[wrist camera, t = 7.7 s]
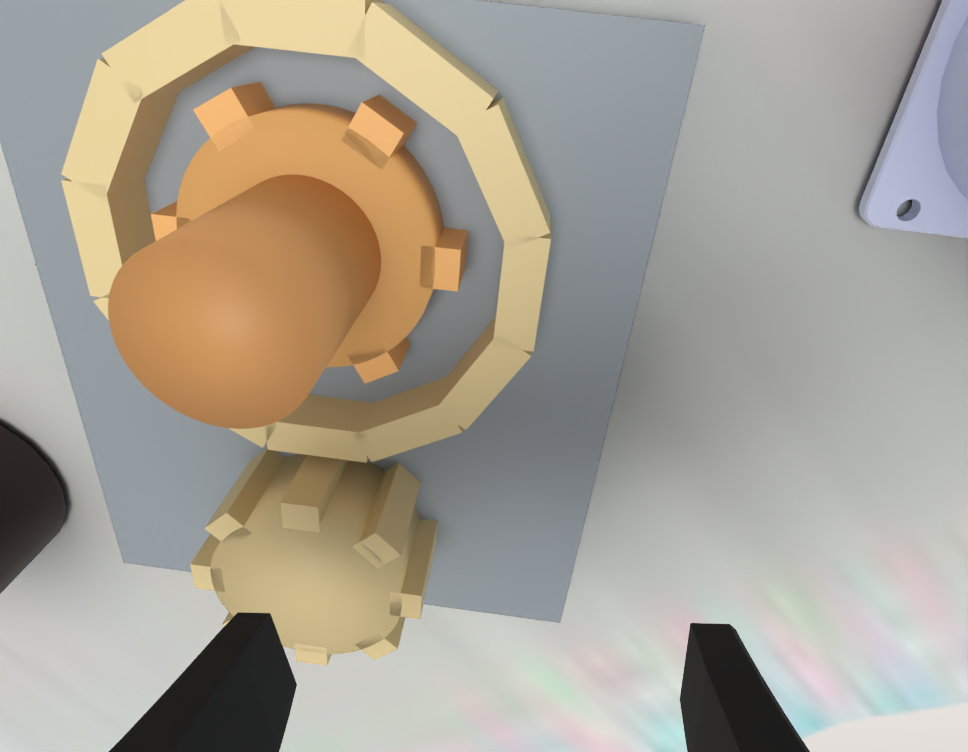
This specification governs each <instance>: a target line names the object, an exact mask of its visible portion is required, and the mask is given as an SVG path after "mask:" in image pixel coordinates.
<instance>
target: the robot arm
mask: <svg viewBox="0 0 968 752" xmlns="http://www.w3.org/2000/svg"><path fill="white" fill-rule="evenodd" d="M907 200H912V207H911V209H910V210H909V211H908V213H906V214H905V215H903V216H899V217H897V209H898V208H899V206H900V205H901V204H902V203H903V202H905V201H907ZM859 213H860V217H861V218H862V219H863V220H864V221H865V222H866V223H868V224H869V225H871V226H874V227H877V228H884V229H893V230H901V231H910V232H918V233H926V234H935V235H943V236H952V237H960V238H968V0H942V2H941V5H940V7H939V10H938V12H937V15H936V17H935V20H934V22H933V24H932V27H931V29H930V32H929V34H928V37H927V39H926V42H925V44H924V47H923V49H922V51H921V54H920V56H919V59H918V61H917V64H916V66H915V69H914V71H913V74H912V76H911V78H910V81H909V83H908V86H907V88H906V91H905V93H904V96H903V98H902V101H901V103H900V105H899V108H898V110H897V113H896V115H895V118H894V120H893V123H892V125H891V128H890V130H889V132H888V135H887V137H886V140H885V142H884V145H883V147H882V150H881V152H880V155H879V157H878V159H877V162H876V164H875V167H874V169H873V172H872V174H871V177H870V179H869V182H868V184H867V186H866V189H865V191H864V194H863V196H862V199H861V201H860V206H859ZM296 686H297V684H296V681H295V679H294V676H293V673H292V670H291V668H290V665H289V662H288V660H287V657H286V654H285V652H284V649H283V646H282V643H281V641H280V638H279V635H278V633H277V630H276V627H275V625H274V622H273V619H272V616H271V614H270V613H243V612H238V613H237V614H236V615H235V616H234V617H233V618H232V619H231V620H230V621H229V622H228V623H227V624H226V625H225V626H224V628H223V629H222V630H221V631H220V632H219V633H218V634H217V635H216V636H215V638H214V639H213V640H212V641H211V642H210V643H209V644H208V645H207V646H206V648H205V649H204V650H203V651H202V652H201V653H200V654H199V655H198V656H197V658H196V659H195V660H194V661H193V662H192V663H191V664H190V665H189V667H188V668H187V669H186V670H185V671H184V672H183V673H182V674H181V675H180V676H179V678H178V679H177V680H176V681H175V682H174V683H173V684H172V685H171V686H170V688H169V689H168V690H167V691H166V692H165V693H164V694H163V695H162V696H161V697H160V698H159V699H158V700H157V702H156V703H155V704H154V705H153V706H152V707H151V708H150V709H149V710H148V711H147V712H146V713H145V714H144V715H143V717H142V718H141V719H140V720H139V721H138V722H137V723H136V724H135V725H134V726H133V727H132V728H131V729H130V730H129V732H128V733H127V734H126V735H125V736H124V737H123V738H122V739H121V740H120V741H119V742H118V743H117V744H116V745H115V746H114V747H113V748H112V749H111V750H110V751H109V752H279V749H280V746H281V743H282V739H283V736H284V732H285V728H286V725H287V721H288V717H289V714H290V710H291V706H292V702H293V698H294V694H295V690H296ZM680 703H681V710H682V717H683V724H684V731H685V738H686V744H687V750H688V752H810V751H809V750H808V748H807V747H806V745H805V744H804V742H803V741H802V739H801V738H800V736H799V735H798V733H797V732H796V730H795V729H794V727H793V726H792V724H791V722H790V721H789V719H788V718H787V716H786V715H785V713H784V711H783V710H782V708H781V707H780V705H779V703H778V702H777V700H776V699H775V697H774V695H773V694H772V692H771V691H770V689H769V687H768V686H767V684H766V682H765V681H764V679H763V677H762V676H761V674H760V672H759V671H758V669H757V667H756V665H755V664H754V662H753V660H752V658H751V657H750V655H749V653H748V651H747V650H746V648H745V646H744V644H743V642H742V641H741V639H740V637H739V635H738V633H737V631H736V629H734V628H733V627H732V626H731V625H730V624H700V623H691V624H690V631H689V638H688V646H687V653H686V660H685V667H684V674H683V681H682V688H681V696H680Z"/></svg>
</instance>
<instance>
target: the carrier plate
mask: <svg viewBox="0 0 968 752" xmlns="http://www.w3.org/2000/svg"><path fill="white" fill-rule="evenodd" d="M704 28H705V25H699V24H690V23H681V22H672V21H663V20H654V19H644V18H635V17H626V16H617V15H608V14H599V13H590V12H581V11H572V10H563V9H553V8H544V7H535V6H526V5H517V4H508V3H499V2H490V1H481V0H0V143H1V146H2V150H3V153H4V156H5V160H6V163H7V167H8V170H9V173H10V177H11V180H12V184H13V187H14V190H15V194H16V197H17V201H18V204H19V207H20V211H21V214H22V218H23V221H24V225H25V228H26V231H27V235H28V238H29V242H30V245H31V248H32V252H33V255H34V259H35V262H36V265H37V269H38V272H39V276H40V279H41V283H42V286H43V289H44V293H45V296H46V300H47V303H48V306H49V310H50V313H51V317H52V320H53V323H54V327H55V330H56V334H57V337H58V340H59V344H60V347H61V351H62V354H63V358H64V361H65V364H66V368H67V371H68V375H69V378H70V381H71V385H72V388H73V392H74V395H75V398H76V402H77V405H78V409H79V412H80V416H81V419H82V422H83V426H84V429H85V433H86V436H87V439H88V443H89V446H90V450H91V453H92V456H93V460H94V463H95V467H96V470H97V473H98V477H99V480H100V484H101V487H102V491H103V494H104V497H105V501H106V504H107V508H108V511H109V514H110V518H111V521H112V525H113V528H114V531H115V535H116V538H117V542H118V545H119V549H120V552H121V555H122V559H123V562H124V563H129V564H137V565H144V566H151V567H158V568H166V569H173V570H180V571H187V572H192V576H193V580H194V585H195V588H199V589H206V590H213V591H215V592H216V594H217V596H218V598H219V599H220V601H221V602H222V604H223V605H224V606H225V608H226V609H227V610H228V611H229V613H228V615H227V617H226V619H225V620H224V622H223V625H224V626H225V625H226V624H227V623H228V622H229V621H230V620H231V619H232V618H233V617H234V616H235V615H236V614H237V613H238V612H243V613H270V614H271V616H272V619H273V622H274V625H275V627H276V630H277V633H278V635H279V638H280V641H281V643H282V646H285V647H288V648H291V649H295V653H296V661H297V662H304V663H311V664H318V665H325V666H327V665H328V662H329V660H330V657H331V654H341V653H349V652H354V651H358V650H362V651H363V652H365V653H366V654H367V655H369V656H370V657H371V658H373V659H374V660H376V659H378V658H380V657H382V656H384V655H386V654H388V653H390V652H392V651H394V650H397V649H398V645H399V641H400V637H401V633H402V629H403V624H404V620H405V617H408V618H415V619H420V618H421V613H422V608H423V604H427V605H434V606H441V607H448V608H456V609H463V610H470V611H477V612H485V613H492V614H499V615H507V616H514V617H521V618H528V619H536V620H543V621H550V622H557V623H560V621H561V617H562V613H563V609H564V605H565V601H566V596H567V592H568V588H569V584H570V580H571V576H572V572H573V568H574V564H575V559H576V555H577V551H578V547H579V543H580V539H581V535H582V531H583V526H584V522H585V518H586V514H587V510H588V506H589V502H590V498H591V494H592V489H593V485H594V481H595V477H596V473H597V469H598V465H599V461H600V456H601V452H602V448H603V444H604V440H605V436H606V432H607V428H608V423H609V419H610V415H611V411H612V407H613V403H614V399H615V395H616V391H617V386H618V382H619V378H620V374H621V370H622V366H623V362H624V358H625V353H626V349H627V345H628V341H629V337H630V333H631V329H632V325H633V320H634V316H635V312H636V308H637V304H638V300H639V296H640V292H641V288H642V283H643V279H644V275H645V271H646V267H647V263H648V259H649V255H650V250H651V246H652V242H653V238H654V234H655V230H656V226H657V222H658V218H659V213H660V209H661V205H662V201H663V197H664V193H665V189H666V185H667V180H668V176H669V172H670V168H671V164H672V160H673V156H674V152H675V147H676V143H677V139H678V135H679V131H680V127H681V123H682V119H683V115H684V110H685V106H686V102H687V98H688V94H689V90H690V86H691V82H692V77H693V73H694V69H695V65H696V61H697V57H698V53H699V49H700V44H701V40H702V36H703V32H704ZM256 82H261V83H262V84H263V86H264V88H265V90H266V91H267V93H268V95H269V97H270V98H271V100H272V102H273V104H274V106H275V107H276V108H278V107H282V106H285V105H292V104H301V103H313V104H324V105H330V106H335V107H340V108H343V109H346V110H349V111H352V112H355V113H356V112H357V110H358V108H359V106H360V105H361V103H362V102H363V101H366V100H368V99H370V98H372V97H375V96H377V95H381V96H382V97H383V98H385V99H386V100H387V101H389V102H390V103H391V104H393V105H394V106H395V107H397V108H398V109H399V110H401V111H402V112H403V113H405V114H406V115H407V116H409V117H410V118H411V119H413V120H414V121H415V122H417V124H416V126H415V127H414V129H413V131H412V132H411V134H410V136H409V137H408V139H407V141H406V142H405V144H404V146H405V147H406V148H407V150H408V151H409V152H410V153H411V154H412V155H413V156H414V158H415V159H416V160H417V162H418V163H419V164H420V166H421V167H422V168H423V170H424V172H425V174H426V175H427V177H428V179H429V181H430V182H431V184H432V187H433V189H434V191H435V194H436V196H437V199H438V202H439V205H440V209H441V213H442V216H443V224H444V228H452V229H461V230H468V240H467V253H466V265H465V271H464V274H463V277H462V280H461V283H460V286H459V290H458V292H457V291H448V290H440V289H434V290H433V292H432V294H431V297H430V299H429V301H428V304H427V306H426V308H425V311H424V313H423V315H422V316H421V318H420V320H419V321H418V323H417V324H416V326H415V327H414V328H413V329H412V331H411V332H410V333H409V334H408V335H407V336H406V338H407V339H408V341H409V343H410V345H409V348H408V350H407V353H406V355H405V357H404V360H403V362H402V364H401V367H400V369H399V371H398V372H395V373H392V374H390V375H387V376H384V377H382V378H379V379H376V380H374V381H371V382H368V383H366V384H365V383H364V381H363V380H362V378H361V377H360V375H359V373H358V372H357V370H356V369H355V367H354V366H353V365H349V366H344V367H326V368H325V369H324V371H323V373H322V374H321V376H320V377H319V379H318V380H317V382H316V384H315V385H314V387H313V388H312V390H311V391H310V393H309V395H308V396H307V398H306V399H305V400H304V401H303V403H302V404H301V405H300V406H299V407H298V408H297V409H296V410H295V411H294V412H293V413H291V414H290V415H288V416H287V417H285V418H284V419H282V420H280V421H277V422H275V423H273V424H269V425H266V426H263V427H257V428H249V429H234V428H224V427H218V426H213V425H210V424H206V423H203V422H200V421H197V420H195V419H192V418H190V417H188V416H186V415H184V414H182V413H180V412H178V411H176V410H174V409H173V408H171V407H169V406H168V405H166V404H165V403H163V402H162V401H161V400H159V399H158V398H157V397H156V396H154V395H153V394H152V393H151V392H150V391H149V390H148V389H147V388H145V387H144V386H143V385H142V383H141V382H140V381H139V380H138V379H137V378H136V377H135V376H134V374H133V373H132V372H131V370H130V369H129V368H128V366H127V365H126V363H125V361H124V360H123V358H122V356H121V355H120V353H119V351H118V348H117V346H116V344H115V342H114V339H113V335H112V332H111V329H110V323H109V318H108V301H109V293H110V289H111V286H112V283H113V280H114V278H115V276H116V274H117V272H118V271H119V269H120V268H121V267H122V265H123V264H124V263H125V262H126V261H127V260H128V259H129V258H130V257H131V256H132V255H133V254H135V253H136V252H138V251H140V250H141V249H143V248H144V247H146V246H148V245H150V244H152V243H153V242H155V241H156V239H155V234H154V229H153V224H152V218H151V214H152V213H154V212H156V211H158V210H160V209H162V208H164V207H166V206H168V205H170V204H172V203H174V202H176V201H178V195H179V189H180V186H181V183H182V180H183V177H184V174H185V172H186V170H187V168H188V166H189V164H190V162H191V160H192V158H193V157H194V156H195V154H196V153H197V152H198V150H199V149H200V148H201V146H202V145H203V144H204V143H205V142H207V141H208V140H209V139H210V136H209V135H208V133H207V132H206V130H205V128H204V127H203V125H202V124H201V122H200V120H199V119H198V117H197V116H196V114H195V112H194V111H193V109H195V108H197V107H199V106H200V105H202V104H204V103H205V102H207V101H209V100H211V99H212V98H214V97H216V96H218V95H219V94H221V93H223V92H224V91H226V90H228V89H230V88H232V87H237V86H242V85H247V84H251V83H256Z"/></svg>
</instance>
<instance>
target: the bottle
mask: <svg viewBox="0 0 968 752" xmlns="http://www.w3.org/2000/svg"><path fill="white" fill-rule="evenodd" d="M65 513H66V504H65V500H64V495H63V490H62V487H61V484H60V483H59V481H58V479H57V478H56V476H55V474H54V473H53V471H52V469H51V467H50V466H49V464H48V463H47V462H46V461H45V460H44V459H43V458H42V457H41V456H40V455H39V454H38V453H37V452H36V451H35V450H34V449H33V448H32V447H31V445H30V444H29V443H27V442H26V441H24V440H23V439H21V438H20V437H19V436H17V435H16V434H14V433H13V432H11V431H10V430H8V429H7V428H5V427H4V426H2V425H0V593H1V592H2V591H3V590H4V589H5V588H6V587H7V586H8V585H9V584H10V583H11V582H12V581H13V580H14V579H15V578H16V577H17V576H18V575H19V574H20V572H21V571H22V570H23V569H24V568H25V567H26V566H27V565H28V564H29V563H30V562H31V561H32V560H33V559H34V558H35V557H36V556H37V555H38V554H39V553H40V552H41V550H42V549H43V548H44V547H45V546H46V545H47V544H48V543H49V542H50V541H51V540H52V539H53V538H54V537H55V536H56V535H57V534H58V533H59V532H60V530H61V528H62V525H63V521H64V517H65Z"/></svg>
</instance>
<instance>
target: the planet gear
mask: <svg viewBox="0 0 968 752" xmlns="http://www.w3.org/2000/svg"><path fill="white" fill-rule="evenodd" d="M193 111H194V112H195V114H196V116H197V117H198V119H199V120H200V122H201V124H202V125H203V127H204V128H205V130H206V132H207V133H208V135H209V136H210V139H209V140H208V141H207V142H205V143H204V144H203V145H202V146H201V148H200V149H199V150H198V152H197V153H196V154H195V156H194V157H193V158H192V160H191V162H190V164H189V166H188V168H187V170H186V172H185V174H184V177H183V180H182V183H181V186H180V189H179V195H178V201H176V202H174V203H172V204H170V205H168V206H166V207H164V208H162V209H160V210H158V211H156V212H154V213H152V214H151V218H152V224H153V229H154V234H155V239H156V241H155V242H153V243H152V244H150V245H148V246H146V247H144V248H143V249H141V250H140V251H138V252H136V253H135V254H133V255H132V256H131V257H130V258H129V259H128V260H127V261H126V262H125V263H124V264H123V265H122V267H121V268H120V269H119V271H118V272H117V274H116V276H115V278H114V280H113V283H112V286H111V289H110V293H109V301H108V318H109V323H110V329H111V332H112V335H113V339H114V342H115V344H116V346H117V348H118V351H119V353H120V355H121V356H122V358H123V360H124V361H125V363H126V365H127V366H128V368H129V369H130V370H131V372H132V373H133V374H134V376H135V377H136V378H137V379H138V380H139V381H140V382H141V383H142V385H143V386H144V387H145V388H147V389H148V390H149V391H150V392H151V393H152V394H153V395H154V396H156V397H157V398H158V399H159V400H161V401H162V402H163V403H165V404H166V405H168V406H169V407H171V408H173V409H174V410H176V411H178V412H180V413H182V414H184V415H186V416H188V417H190V418H192V419H195V420H197V421H200V422H203V423H206V424H210V425H213V426H218V427H224V428H234V429H249V428H257V427H263V426H266V425H269V424H273V423H275V422H277V421H280V420H282V419H284V418H285V417H287V416H288V415H290V414H291V413H293V412H294V411H295V410H296V409H297V408H298V407H299V406H300V405H301V404H302V403H303V401H304V400H305V399H306V398H307V396H308V395H309V393H310V391H311V390H312V388H313V387H314V385H315V384H316V382H317V380H318V379H319V377H320V376H321V374H322V373H323V371H324V369H325V368H326V367H344V366H349V365H353V366H354V367H355V369H356V370H357V372H358V373H359V375H360V377H361V378H362V380H363V381H364V383H365V384H366V383H368V382H371V381H374V380H376V379H379V378H382V377H384V376H387V375H390V374H392V373H395V372H398V371H399V369H400V367H401V364H402V362H403V360H404V357H405V355H406V353H407V350H408V348H409V345H410V343H409V341H408V339H407V338H406V336H407V335H408V334H409V333H410V332H411V331H412V329H413V328H414V327H415V326H416V324H417V323H418V321H419V320H420V318H421V316H422V315H423V313H424V311H425V308H426V306H427V304H428V301H429V299H430V297H431V294H432V292H433V290H434V289H440V290H448V291H457V292H458V290H459V286H460V283H461V280H462V277H463V274H464V271H465V265H466V253H467V240H468V230H461V229H452V228H444V224H443V216H442V213H441V209H440V205H439V202H438V199H437V196H436V194H435V191H434V189H433V187H432V184H431V182H430V181H429V179H428V177H427V175H426V174H425V172H424V170H423V168H422V167H421V166H420V164H419V163H418V162H417V160H416V159H415V158H414V156H413V155H412V154H411V153H410V152H409V151H408V150H407V148H406V147H405V146H404V144H405V142H406V141H407V139H408V137H409V136H410V134H411V132H412V131H413V129H414V127H415V126H416V124H417V122H415V121H414V120H413V119H411V118H410V117H409V116H407V115H406V114H405V113H403V112H402V111H401V110H399V109H398V108H397V107H395V106H394V105H393V104H391V103H390V102H389V101H387V100H386V99H385V98H383V97H382V96H381V95H377V96H375V97H372V98H370V99H368V100H366V101H363V102H362V103H361V105H360V106H359V108H358V110H357V112H356V113H355V112H352V111H349V110H346V109H343V108H340V107H335V106H330V105H324V104H313V103H301V104H292V105H285V106H282V107H278V108H276V107H275V106H274V104H273V102H272V100H271V98H270V97H269V95H268V93H267V91H266V90H265V88H264V86H263V84H262V83H261V82H256V83H251V84H247V85H242V86H237V87H232V88H230V89H228V90H226V91H224V92H223V93H221V94H219V95H218V96H216V97H214V98H212V99H211V100H209V101H207V102H205V103H204V104H202V105H200V106H199V107H197V108H195V109H193Z"/></svg>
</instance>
